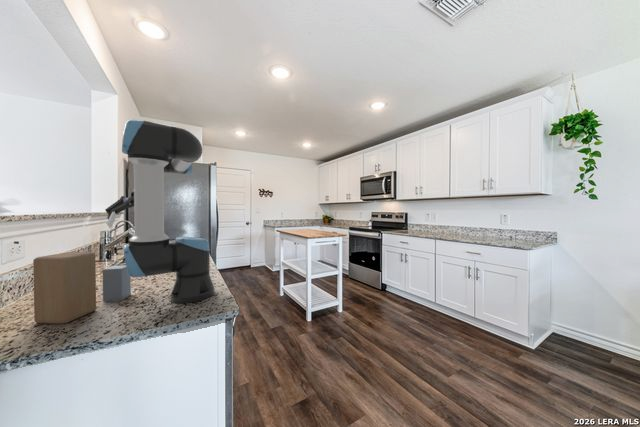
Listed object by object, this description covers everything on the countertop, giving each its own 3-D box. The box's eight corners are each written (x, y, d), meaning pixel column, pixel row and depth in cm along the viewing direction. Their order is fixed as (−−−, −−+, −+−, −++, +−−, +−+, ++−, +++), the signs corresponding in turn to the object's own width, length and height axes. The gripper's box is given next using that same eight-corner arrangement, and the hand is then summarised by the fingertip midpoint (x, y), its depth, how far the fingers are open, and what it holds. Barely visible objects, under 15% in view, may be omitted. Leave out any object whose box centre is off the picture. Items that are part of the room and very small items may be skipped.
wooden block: (69, 310, 79) (68, 251, 79) (97, 310, 79) (97, 251, 79) (32, 324, 69) (31, 257, 69) (64, 325, 69) (63, 257, 69)
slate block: (130, 294, 94) (130, 264, 94) (122, 300, 88) (121, 268, 88) (112, 295, 92) (112, 265, 92) (103, 301, 86) (102, 269, 86)
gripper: (174, 197, 119) (164, 230, 105) (114, 196, 111) (96, 231, 98) (170, 186, 114) (160, 219, 100) (108, 184, 106) (87, 219, 93)
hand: (128, 225), depth 99 cm, fingers open, 13 cm apart
